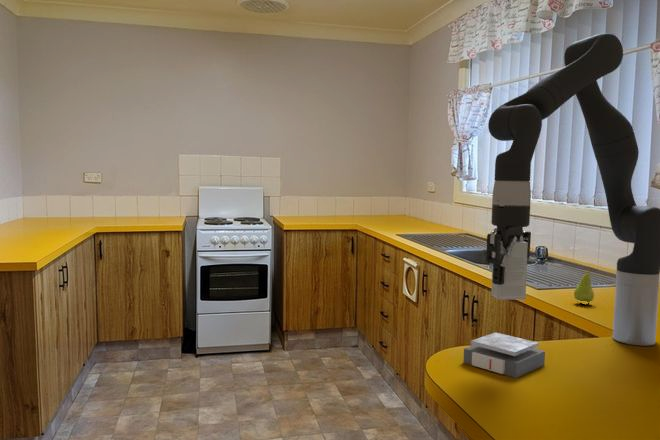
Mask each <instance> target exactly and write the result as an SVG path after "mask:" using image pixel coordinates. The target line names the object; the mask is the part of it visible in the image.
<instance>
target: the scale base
mask: <svg viewBox="0 0 660 440" xmlns="http://www.w3.org/2000/svg"><path fill="white" fill-rule="evenodd" d="M545 361H546V351H545V350H542V349H538V348H534V349H531V350H529V351H526V352H524V353H521V354H519V355H516V356H512V355H509V354H505V353H501V352H498V351H494V350H490V349H486V348H483V347H479V346H475V345H471V346H468V347H465V348H463V363H464V364H468V365H471V366H474V367H477V368H481V369H484V370H487V371H490V372H494V373H497V374H501V375H505V376H507V377H510V378H513V379H518V378H520V377H522V376H524V375H526V374H528V373H531V372H532V371H535V370H537V369H538V368H541V367H543V366H545Z"/></svg>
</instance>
